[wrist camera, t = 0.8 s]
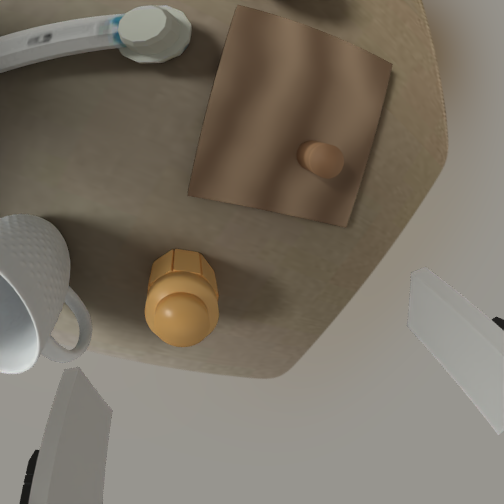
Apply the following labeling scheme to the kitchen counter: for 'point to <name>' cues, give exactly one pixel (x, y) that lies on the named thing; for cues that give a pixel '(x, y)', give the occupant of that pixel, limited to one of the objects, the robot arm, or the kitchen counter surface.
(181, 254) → the acorn cap nut
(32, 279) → the mug
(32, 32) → the electric scrub brush
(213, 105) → the post board
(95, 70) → the kitchen counter surface
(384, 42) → the kitchen counter surface
